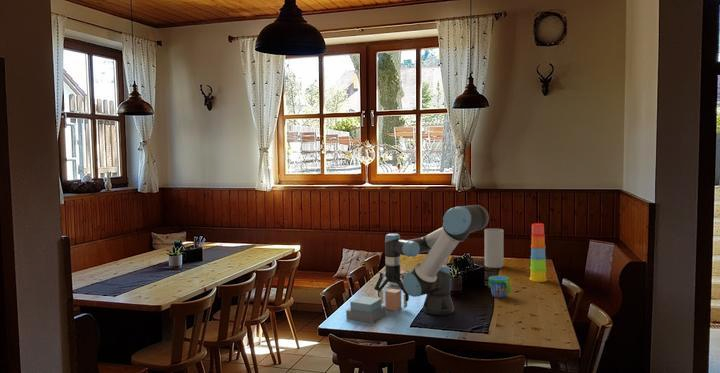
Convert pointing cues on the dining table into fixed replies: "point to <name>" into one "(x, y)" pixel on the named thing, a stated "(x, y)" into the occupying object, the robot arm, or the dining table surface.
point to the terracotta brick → (393, 299)
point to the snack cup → (499, 285)
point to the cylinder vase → (494, 248)
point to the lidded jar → (400, 278)
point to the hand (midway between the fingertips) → (393, 305)
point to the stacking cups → (538, 254)
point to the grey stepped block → (365, 309)
